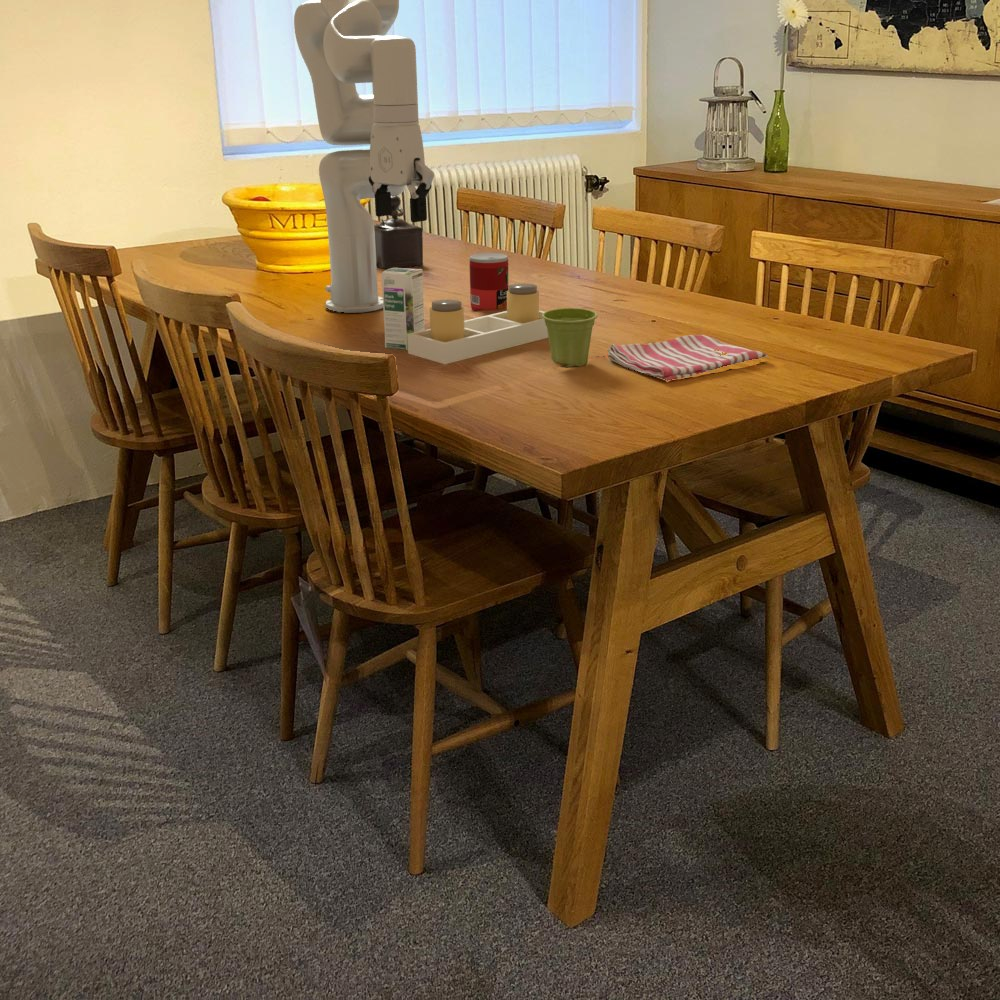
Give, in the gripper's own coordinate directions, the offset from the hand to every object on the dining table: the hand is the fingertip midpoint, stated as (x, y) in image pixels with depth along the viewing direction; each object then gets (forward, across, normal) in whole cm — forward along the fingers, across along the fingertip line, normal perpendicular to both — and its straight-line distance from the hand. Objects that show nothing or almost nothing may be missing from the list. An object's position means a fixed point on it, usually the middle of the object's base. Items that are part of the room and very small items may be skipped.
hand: (401, 218), depth 201 cm
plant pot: (+24, +28, +14) cm, 39 cm away
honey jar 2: (+23, +10, +20) cm, 32 cm away
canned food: (+24, -12, +32) cm, 41 cm away
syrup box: (+24, 0, 0) cm, 24 cm away
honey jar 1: (+23, +10, +1) cm, 25 cm away
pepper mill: (+23, -62, +48) cm, 82 cm away
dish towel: (+24, +42, +28) cm, 56 cm away
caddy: (+24, +10, +11) cm, 28 cm away
